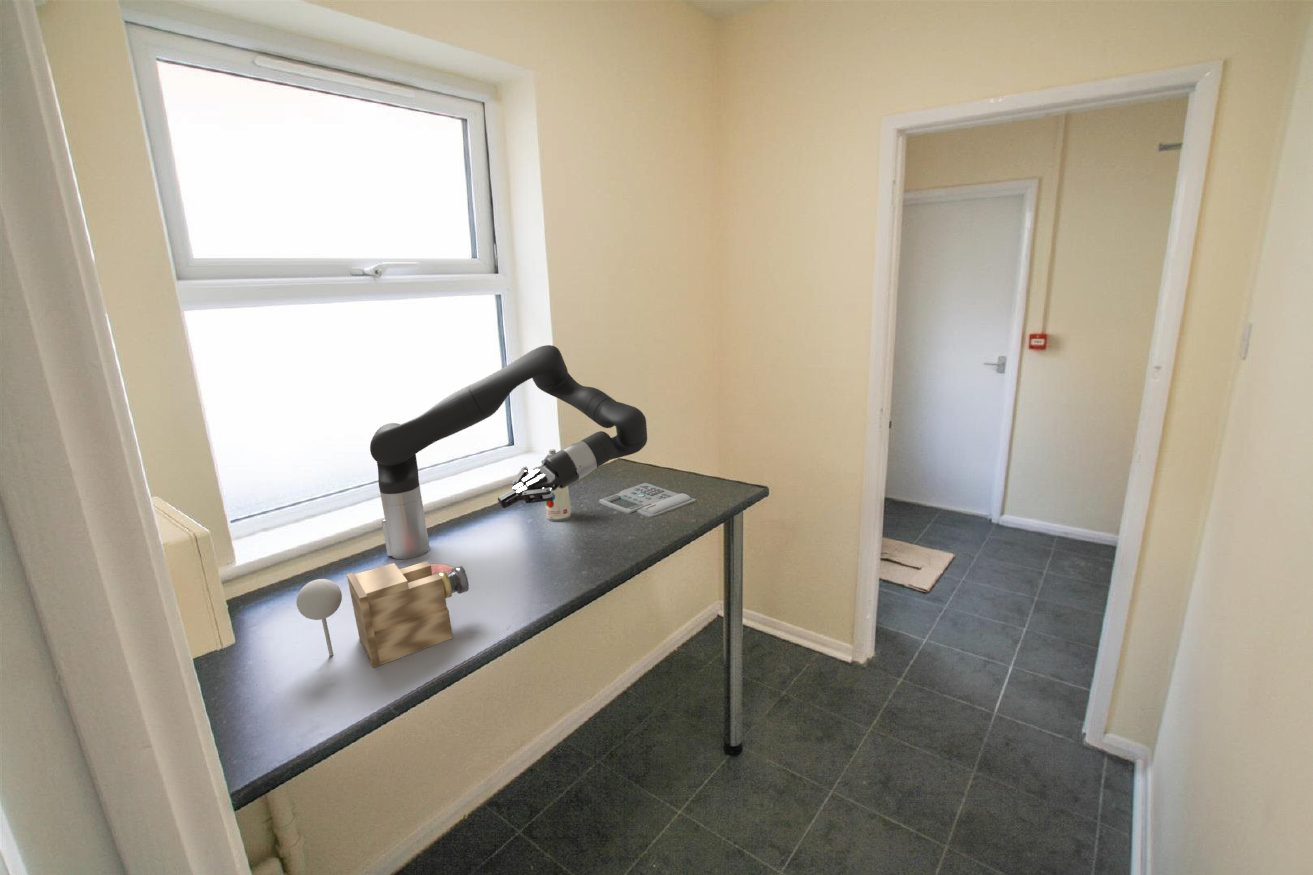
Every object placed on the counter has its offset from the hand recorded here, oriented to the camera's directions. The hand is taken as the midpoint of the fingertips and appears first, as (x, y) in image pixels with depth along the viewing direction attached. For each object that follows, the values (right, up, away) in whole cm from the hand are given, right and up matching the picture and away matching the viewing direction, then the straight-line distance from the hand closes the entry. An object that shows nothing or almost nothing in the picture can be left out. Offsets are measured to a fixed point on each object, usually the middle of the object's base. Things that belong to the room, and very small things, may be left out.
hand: (500, 503), depth 126 cm
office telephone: (+29, -6, +56) cm, 64 cm away
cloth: (-25, -21, +12) cm, 35 cm away
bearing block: (-15, -25, -10) cm, 31 cm away
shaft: (-13, -19, -9) cm, 24 cm away
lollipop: (-27, -27, -14) cm, 41 cm away
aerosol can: (+5, -9, +47) cm, 48 cm away
